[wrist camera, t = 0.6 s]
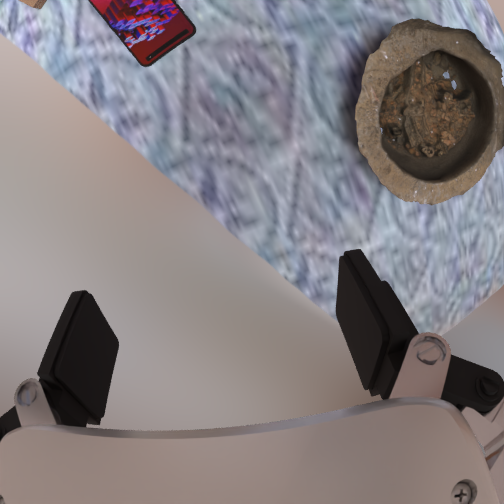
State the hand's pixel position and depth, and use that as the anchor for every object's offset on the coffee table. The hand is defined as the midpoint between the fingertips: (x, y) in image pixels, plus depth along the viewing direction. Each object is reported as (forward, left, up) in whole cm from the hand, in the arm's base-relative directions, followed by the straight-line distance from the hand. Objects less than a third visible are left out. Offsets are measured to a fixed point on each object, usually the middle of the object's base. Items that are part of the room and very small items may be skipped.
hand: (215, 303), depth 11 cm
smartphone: (-7, -18, -29) cm, 35 cm away
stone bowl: (-22, +17, -29) cm, 40 cm away
